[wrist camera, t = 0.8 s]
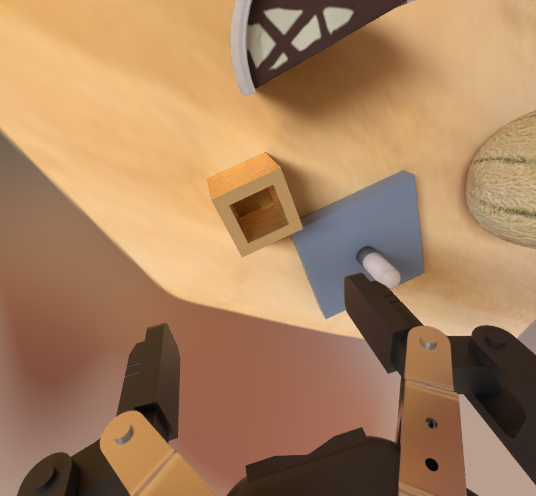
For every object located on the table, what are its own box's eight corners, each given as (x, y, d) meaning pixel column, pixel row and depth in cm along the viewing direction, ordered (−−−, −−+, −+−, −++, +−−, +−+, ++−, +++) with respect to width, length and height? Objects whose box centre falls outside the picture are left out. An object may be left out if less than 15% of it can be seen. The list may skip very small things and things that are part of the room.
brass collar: (264, 152, 30) (280, 167, 25) (285, 205, 33) (303, 228, 28) (207, 179, 30) (211, 199, 25) (233, 230, 33) (242, 257, 28)
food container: (327, -71, 23) (411, -158, 14) (350, 20, 26) (428, -7, 18) (188, 12, 23) (190, -26, 15) (228, 91, 27) (247, 98, 18)
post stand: (403, 170, 35) (457, 193, 28) (415, 264, 43) (459, 301, 36) (286, 225, 35) (311, 262, 28) (320, 309, 43) (346, 354, 36)
